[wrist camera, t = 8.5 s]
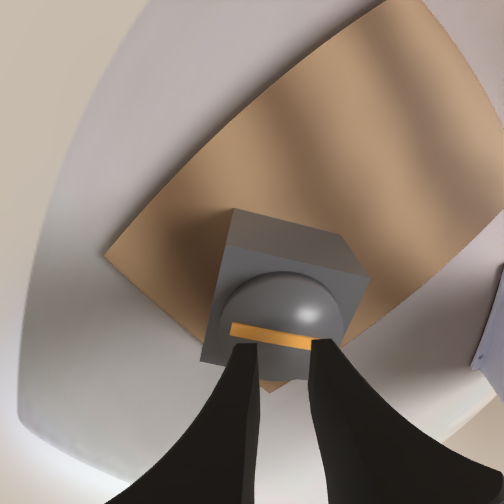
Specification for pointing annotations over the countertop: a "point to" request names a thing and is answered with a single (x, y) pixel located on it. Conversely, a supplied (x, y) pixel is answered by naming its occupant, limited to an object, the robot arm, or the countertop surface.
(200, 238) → the parts board
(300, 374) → the knob
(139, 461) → the countertop surface
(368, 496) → the robot arm
